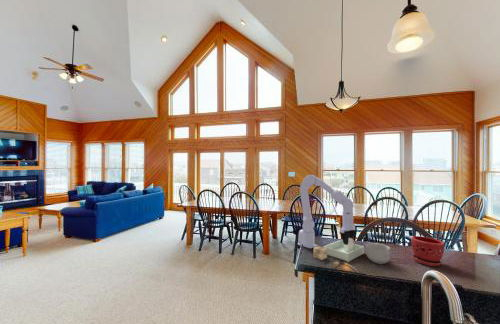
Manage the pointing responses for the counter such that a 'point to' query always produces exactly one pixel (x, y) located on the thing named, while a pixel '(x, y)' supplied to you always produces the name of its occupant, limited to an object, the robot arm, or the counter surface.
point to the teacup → (378, 253)
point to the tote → (338, 251)
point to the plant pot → (427, 250)
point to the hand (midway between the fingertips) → (347, 243)
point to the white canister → (349, 246)
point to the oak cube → (320, 253)
